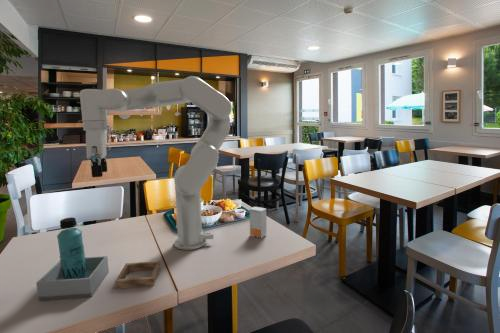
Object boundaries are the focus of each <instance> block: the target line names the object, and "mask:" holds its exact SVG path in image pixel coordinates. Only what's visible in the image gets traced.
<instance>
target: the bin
mask: <svg viewBox="0 0 500 333" xmlns="http://www.w3.org/2000/svg"><path fill="white" fill-rule="evenodd" d="M108 259H109V258H108V255H101V256H88V257H87V256H85V262H86V266H87V268H86V269H87V275H86V277H85V278H79V279H65V280H63V275H62V272H61V271H62V269H61V265H60V264H61V261H60V260H59V261H58V262H57V263H56V264H55V265H53V266H52V268H50V269H49V270H48V271H47V272H46V273H45V274H43V275H42V276H41V277H40V278H39V280H38V281H36V290H37V297H38V301H39V302H44V301H46V302H47V301H57V300H69V299H82V298H84V299H85V298H92V297H93V296H94V295H95V293H96V292H97V290H98V288H100V286H101V284H102V283H103V282H104V280H105V279H106V277H107V275H108V274H109V272H110V269H109V260H108Z"/></svg>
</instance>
